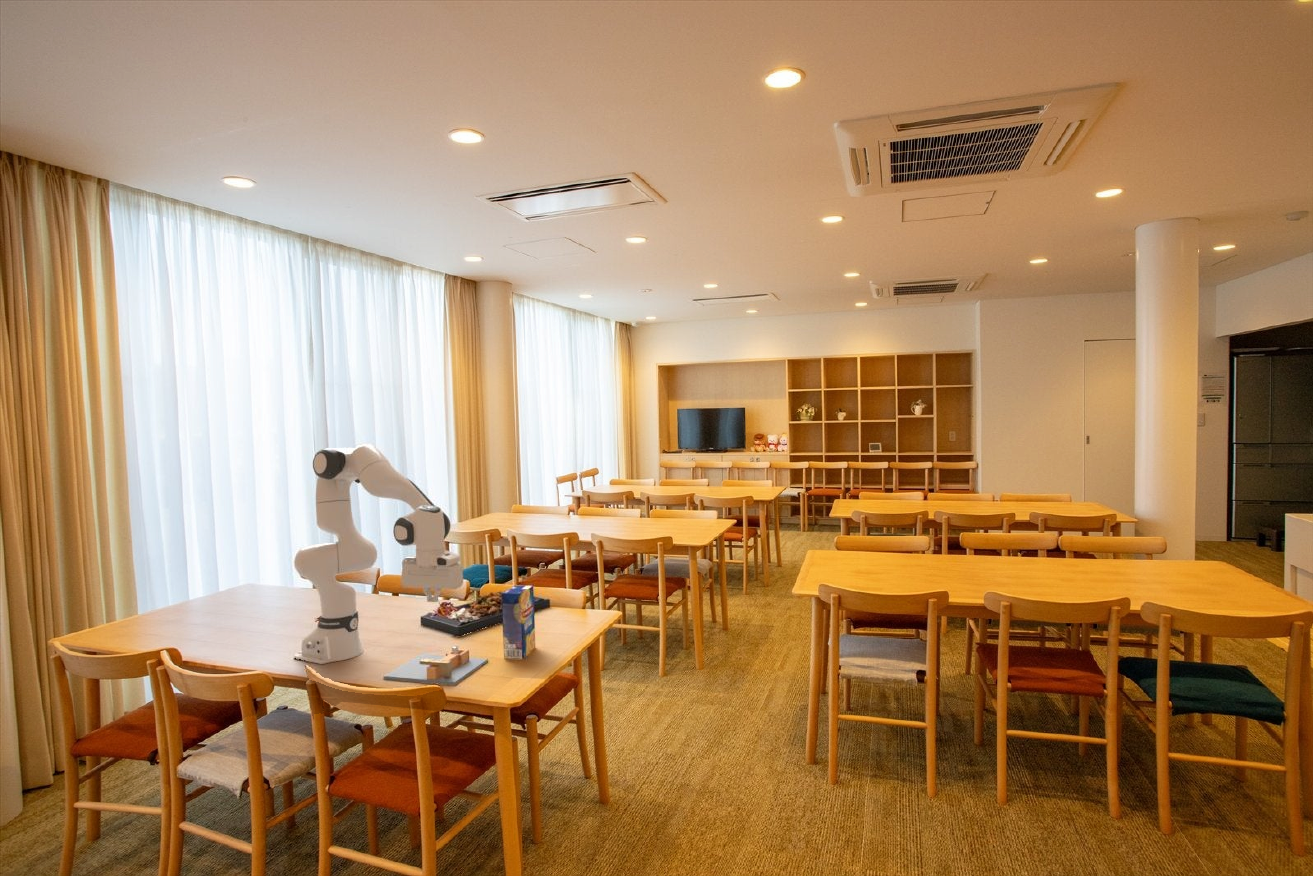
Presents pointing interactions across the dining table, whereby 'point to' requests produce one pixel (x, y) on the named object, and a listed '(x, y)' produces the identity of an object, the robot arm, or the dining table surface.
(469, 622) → the food platter
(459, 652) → the link
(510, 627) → the beverage box
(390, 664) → the dining table surface
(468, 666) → the board
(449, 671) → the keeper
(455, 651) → the peg
